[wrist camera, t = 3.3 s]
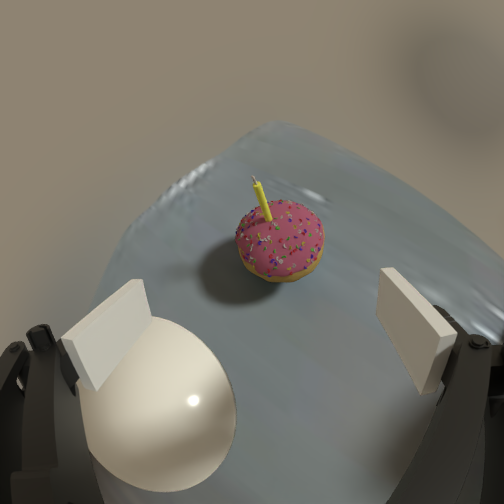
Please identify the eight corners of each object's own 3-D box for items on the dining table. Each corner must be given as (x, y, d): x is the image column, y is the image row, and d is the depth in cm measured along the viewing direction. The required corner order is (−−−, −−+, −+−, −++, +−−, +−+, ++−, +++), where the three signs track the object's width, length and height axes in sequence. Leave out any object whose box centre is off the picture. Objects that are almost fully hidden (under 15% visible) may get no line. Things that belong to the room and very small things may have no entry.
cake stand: (200, 309, 28) (170, 281, 21) (281, 428, 21) (277, 445, 14) (100, 373, 26) (54, 362, 19) (162, 485, 19) (122, 507, 12)
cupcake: (229, 271, 30) (195, 204, 20) (270, 216, 33) (258, 138, 22) (296, 310, 27) (299, 256, 16) (334, 246, 30) (350, 171, 19)
